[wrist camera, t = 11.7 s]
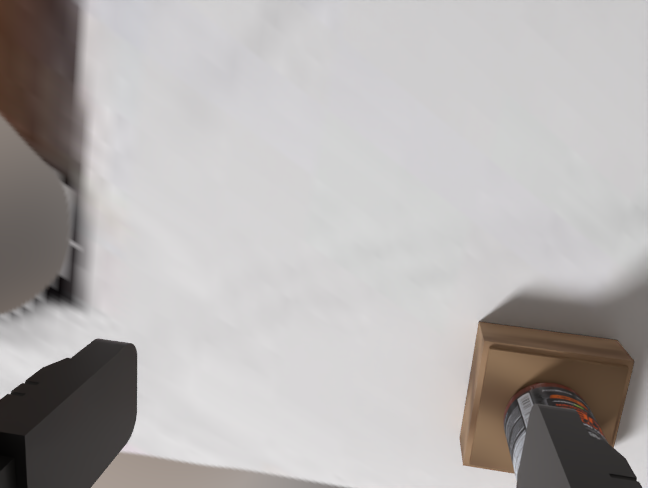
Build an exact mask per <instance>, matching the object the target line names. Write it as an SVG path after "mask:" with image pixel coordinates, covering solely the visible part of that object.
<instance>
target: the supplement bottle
mask: <svg viewBox="0 0 648 488" xmlns="http://www.w3.org/2000/svg"><path fill="white" fill-rule="evenodd" d="M534 404H542V405H549V406H556V407H563V408H569V409H575V410H576V411H577V412H578V414H579V416H580V418H581V420H582V422H583V424H584V426H585V427H586V429H587V431H588V433H589V435H590V437H591V438H594V439H600V440H605V441H606V442H607V440H606V438H605V436H604V434H603V432H602V430H601V428H600V426H599V425H598V423H597V421H596V419H595V417H594V415H593V413H592V412H591V410H590V408H589V406H588V405H587V403H586V402H585V401H584V400H583V398H582V397H581V396H580V395H579V394H578V393H576V392H575V391H574V390H572V389H571V388H569V387H566V386H564V385H561V384H556V383H535V384H533V385H530V386H527V387H525V388H524V389H522V390H520V391H519V392H517V393H516V394H515V395H514V396H513V397H512V398H511V399H510V401H509V403H508V404H507V406H506V409H505V412H504V419H503V421H504V422H503V423H504V430H505V436H506V439H507V443H508V448H509V452H510V456H511V460H512V464H513V468H514V472H515V476H516V480H517V477H518V471H519V466H520V461H521V455H522V450H523V445H524V440H525V435H526V430H527V425H528V420H529V415H530V411H531V409H532V406H533V405H534ZM607 443H608V442H607ZM608 444H609V443H608Z"/></svg>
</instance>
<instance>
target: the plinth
mask: <svg viewBox="0 0 648 488" xmlns="http://www.w3.org/2000/svg"><path fill="white" fill-rule="evenodd" d="M633 365H634V360H633V359H632V358H631V356H630V355H629V354H628V353H627V352H626V350H625V349H624V348H623V347H622V345H621V344H620V343H619V342H618V340H613V339H605V338H598V337H590V336H583V335H575V334H568V333H560V332H553V331H545V330H538V329H530V328H523V327H515V326H508V325H500V324H493V323H485V322H479V324H478V330H477V336H476V342H475V348H474V354H473V360H472V366H471V372H470V379H469V385H468V391H467V397H466V403H465V409H464V415H463V421H462V427H461V433H460V445H461V452H462V460H463V465H465V466H471V467H477V468H483V469H490V470H496V471H502V472H508V473H514V474H515V472H514V468H513V464H512V460H511V456H510V452H509V448H508V443H507V439H506V436H505V430H504V423H503V422H504V421H503V419H504V412H505V409H506V406H507V404H508V403H509V401H510V399H511V398H512V397H513V396H514V395H515V394H516V393H517V392H519V391H520V390H522V389H524V388H525V387H527V386H530V385H533V384H535V383H556V384H561V385H564V386H566V387H569V388H571V389H572V390H574V391H575V392H576V393H578V394H579V395H580V396H581V397H582V398H583V400H584V401H585V402H586V403H587V405H588V406H589V408H590V410H591V412H592V413H593V415H594V417H595V419H596V421H597V423H598V425H599V426H600V428H601V430H602V432H603V434H604V436H605V438H606V440H607V442H608V443H609V445H611V446H612V447H613V448H614V444H615V440H616V435H617V431H618V427H619V423H620V419H621V415H622V411H623V406H624V402H625V398H626V394H627V390H628V386H629V382H630V377H631V373H632V369H633Z"/></svg>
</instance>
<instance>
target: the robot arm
mask: <svg viewBox="0 0 648 488" xmlns="http://www.w3.org/2000/svg"><path fill="white" fill-rule="evenodd" d="M136 415H137V351H136V348H135V346H134V345H133V344H131V343H125V342H118V341H111V340H104V339H95V340H94V341H92V342H91V343H90V344H89V345H87V346H86V347H85V348H83V349H82V350H81V351H80V352H78V353H77V354H76V355H75V356H73V357H72V358H66V359H63V360H61V361H58V362H56V363H53V364H51V365H48V366H46V367H43V368H42V369H40V370H39V371H38V372H36V373H35V374H34V375H32V376H31V377H30V378H28V379H27V380H26V382H25V384H24V383H22V384H20V385H19V386H18V387H16V388H15V389H14V390H12V391H11V394H7V395H6V396H4V397H3V398H2V399H0V488H91V487H92V485H93V484H94V483H95V482H96V480H97V479H98V478H99V477H100V475H101V474H102V473H103V472H104V471H105V469H106V468H107V467H108V465H109V464H110V463H111V462H112V461H113V459H114V458H115V457H116V456H117V454H118V453H119V452H120V451H121V450H122V448H123V447H124V446H125V445H126V443H127V442H128V440H129V439H130V437H131V434H132V432H133V429H134V425H135V421H136ZM636 479H637V478H636V476H635V474H634V472H633V471H632V469H631V467H630V465H629V464H628V462H627V460H626V458H624V457H623V456H622V455H621V454H620V453H619V452H617V451H616V450H615V449H614V448H613V447H612V446H611V445H609V444H608V443H607V442H606V441H605V440H600V439H594V438H591V437H590V435H589V433H588V431H587V429H586V427H585V426H584V424H583V422H582V420H581V418H580V416H579V414H578V412H577V411H576V410H575V409H569V408H563V407H556V406H549V405H542V404H534V405H533V406H532V409H531V411H530V415H529V420H528V425H527V430H526V435H525V440H524V445H523V450H522V455H521V461H520V466H519V471H518V477H517V488H642V486H641V485H640V483H639V482H637V481H636Z"/></svg>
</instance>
